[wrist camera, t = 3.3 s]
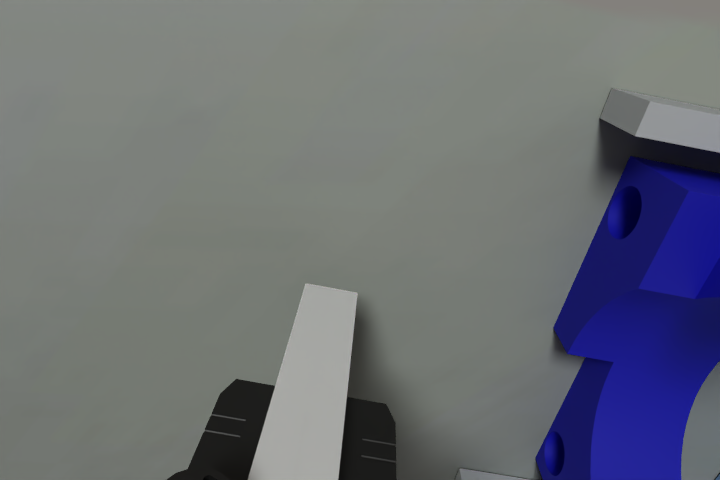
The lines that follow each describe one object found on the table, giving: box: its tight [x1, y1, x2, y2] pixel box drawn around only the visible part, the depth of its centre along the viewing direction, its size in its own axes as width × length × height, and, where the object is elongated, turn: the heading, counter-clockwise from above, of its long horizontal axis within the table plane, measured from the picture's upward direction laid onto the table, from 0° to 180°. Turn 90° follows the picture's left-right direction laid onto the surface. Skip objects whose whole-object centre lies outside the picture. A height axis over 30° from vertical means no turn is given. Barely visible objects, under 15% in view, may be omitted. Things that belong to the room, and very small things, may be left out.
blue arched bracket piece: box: [536, 156, 720, 480], centre depth 14 cm, size 12×4×6 cm, turn 170°
